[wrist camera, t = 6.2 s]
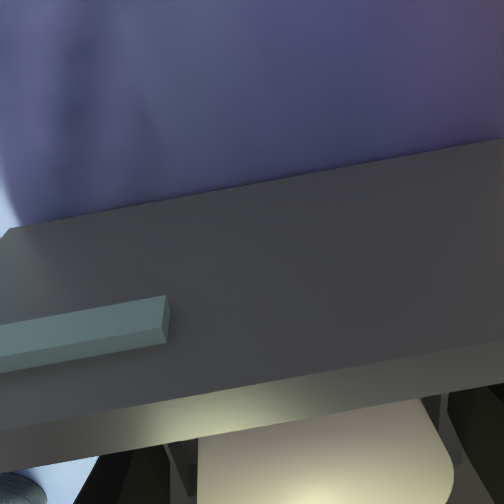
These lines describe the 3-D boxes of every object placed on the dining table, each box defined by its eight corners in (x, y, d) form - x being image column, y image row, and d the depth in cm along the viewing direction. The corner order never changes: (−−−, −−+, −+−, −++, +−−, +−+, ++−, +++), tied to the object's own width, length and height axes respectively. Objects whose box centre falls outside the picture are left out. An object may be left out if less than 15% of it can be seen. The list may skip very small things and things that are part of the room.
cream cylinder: (384, 265, 11) (466, 393, 7) (382, 405, 13) (444, 547, 10) (181, 300, 11) (169, 443, 7) (218, 433, 13) (222, 585, 10)
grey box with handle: (516, 123, 11) (840, 260, 5) (478, 394, 16) (627, 614, 10) (4, 218, 11) (-205, 449, 6) (123, 458, 16) (77, 711, 10)
